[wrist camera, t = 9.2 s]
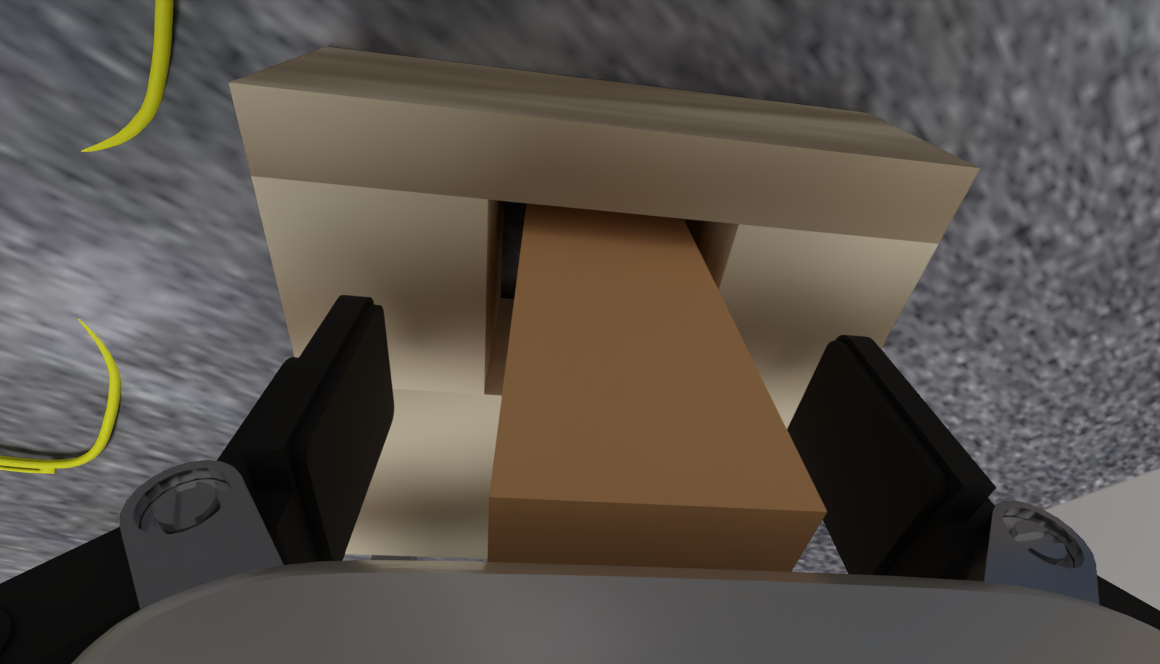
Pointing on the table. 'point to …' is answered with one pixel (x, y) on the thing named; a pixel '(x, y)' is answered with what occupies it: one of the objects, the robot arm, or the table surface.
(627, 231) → the peg
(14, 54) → the table surface
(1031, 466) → the table surface
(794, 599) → the robot arm
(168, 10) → the glasses
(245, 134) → the socket block
